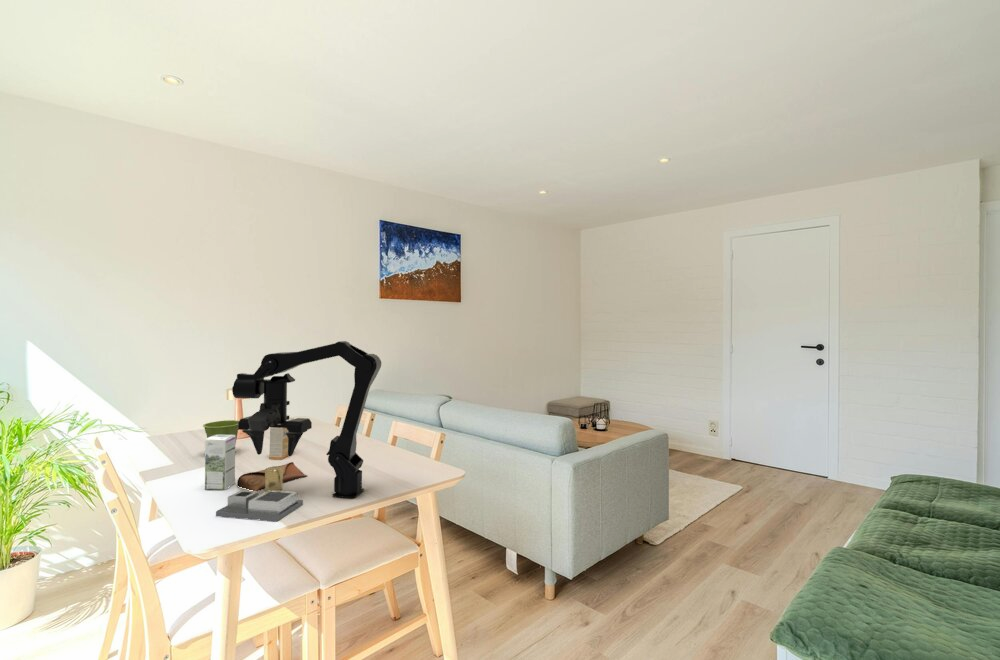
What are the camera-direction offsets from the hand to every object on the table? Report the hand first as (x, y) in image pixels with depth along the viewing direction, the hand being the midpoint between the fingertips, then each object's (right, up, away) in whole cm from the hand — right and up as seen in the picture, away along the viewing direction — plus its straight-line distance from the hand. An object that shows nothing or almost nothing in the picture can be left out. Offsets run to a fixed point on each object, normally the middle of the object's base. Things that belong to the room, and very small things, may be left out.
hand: (274, 455), depth 129 cm
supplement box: (-15, -10, +37) cm, 41 cm away
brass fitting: (0, -11, 0) cm, 11 cm away
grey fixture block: (+2, -11, -11) cm, 16 cm away
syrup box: (-18, -11, +5) cm, 21 cm away
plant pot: (-36, -10, +37) cm, 53 cm away
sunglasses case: (-5, -11, +10) cm, 16 cm away
